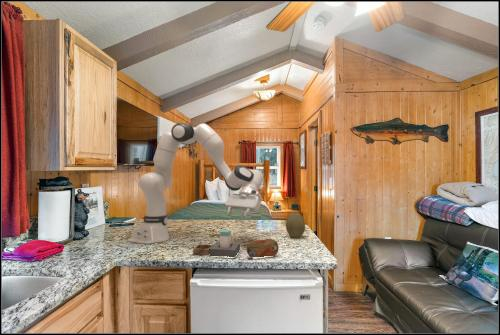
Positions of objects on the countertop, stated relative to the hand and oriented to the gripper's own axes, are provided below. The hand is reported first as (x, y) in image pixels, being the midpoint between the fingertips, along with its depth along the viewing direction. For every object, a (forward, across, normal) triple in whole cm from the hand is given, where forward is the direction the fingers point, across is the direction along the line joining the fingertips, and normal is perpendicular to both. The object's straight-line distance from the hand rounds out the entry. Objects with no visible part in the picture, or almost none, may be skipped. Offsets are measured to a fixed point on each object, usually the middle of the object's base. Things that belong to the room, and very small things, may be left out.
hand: (236, 215), depth 129 cm
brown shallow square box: (+22, -10, +3) cm, 24 cm away
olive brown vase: (-15, +16, +40) cm, 45 cm away
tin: (+14, +17, +10) cm, 25 cm away
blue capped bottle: (+18, 0, +6) cm, 19 cm away
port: (+18, 0, +6) cm, 19 cm away
